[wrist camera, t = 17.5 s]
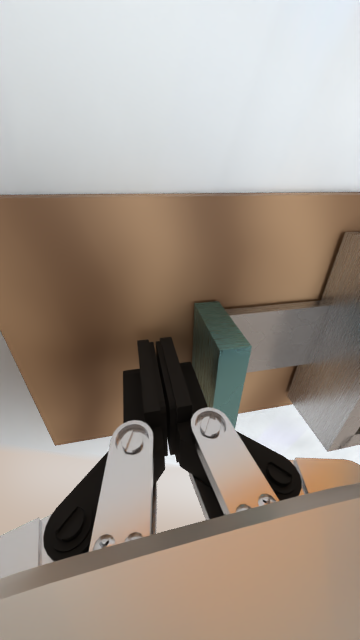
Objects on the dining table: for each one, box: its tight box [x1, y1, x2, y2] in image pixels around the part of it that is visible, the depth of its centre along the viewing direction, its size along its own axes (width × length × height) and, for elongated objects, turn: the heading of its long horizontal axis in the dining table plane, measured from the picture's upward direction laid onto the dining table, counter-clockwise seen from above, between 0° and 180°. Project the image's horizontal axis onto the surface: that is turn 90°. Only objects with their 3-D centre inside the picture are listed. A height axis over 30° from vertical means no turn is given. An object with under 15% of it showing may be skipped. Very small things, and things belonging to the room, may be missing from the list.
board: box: [0, 192, 360, 446], centre depth 14 cm, size 28×14×2 cm, turn 90°
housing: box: [192, 232, 360, 452], centre depth 12 cm, size 17×11×4 cm, turn 90°
